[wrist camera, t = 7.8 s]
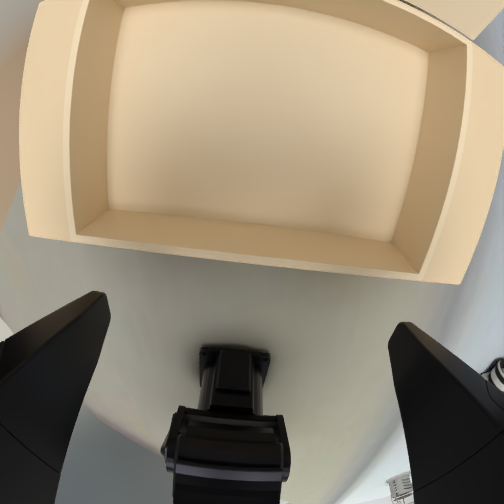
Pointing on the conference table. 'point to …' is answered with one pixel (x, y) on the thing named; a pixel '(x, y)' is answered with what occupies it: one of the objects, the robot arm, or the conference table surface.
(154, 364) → the conference table surface
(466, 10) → the kraft flap
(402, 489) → the french press
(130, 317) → the conference table surface
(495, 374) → the camera
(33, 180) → the carton
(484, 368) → the conference table surface
